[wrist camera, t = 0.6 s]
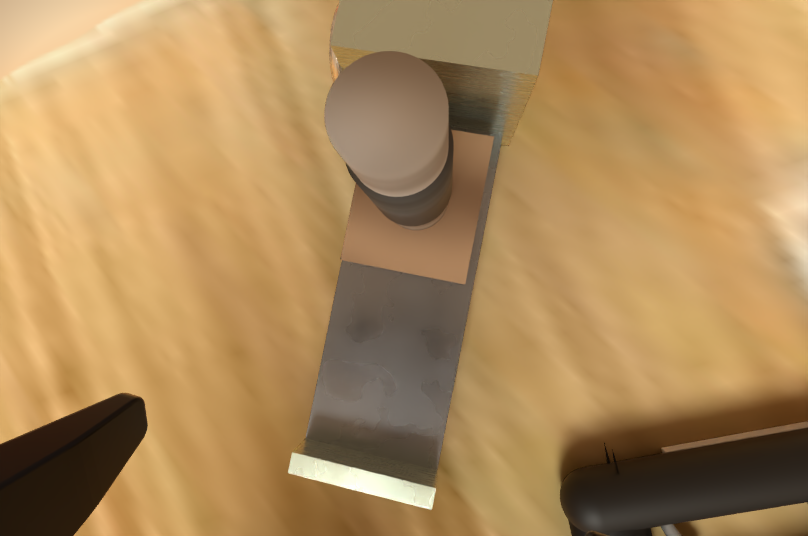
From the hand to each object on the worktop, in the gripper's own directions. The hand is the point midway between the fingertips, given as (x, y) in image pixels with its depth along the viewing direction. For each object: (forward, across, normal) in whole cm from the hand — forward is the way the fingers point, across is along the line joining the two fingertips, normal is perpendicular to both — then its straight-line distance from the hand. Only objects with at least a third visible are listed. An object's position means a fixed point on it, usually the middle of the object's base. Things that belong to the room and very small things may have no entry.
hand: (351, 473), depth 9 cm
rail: (+16, +1, +4) cm, 16 cm away
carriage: (+16, +2, 0) cm, 16 cm away
